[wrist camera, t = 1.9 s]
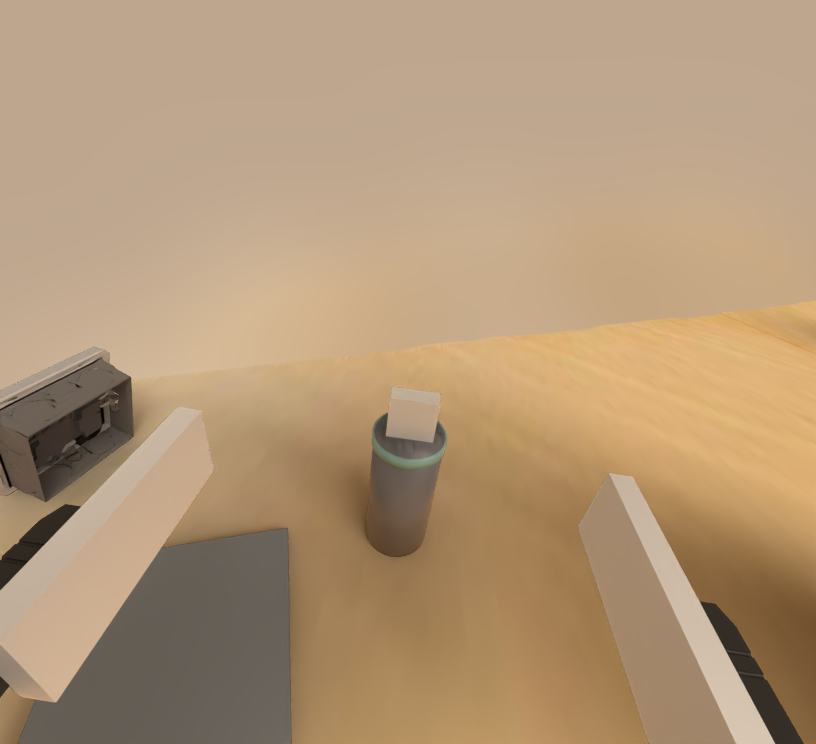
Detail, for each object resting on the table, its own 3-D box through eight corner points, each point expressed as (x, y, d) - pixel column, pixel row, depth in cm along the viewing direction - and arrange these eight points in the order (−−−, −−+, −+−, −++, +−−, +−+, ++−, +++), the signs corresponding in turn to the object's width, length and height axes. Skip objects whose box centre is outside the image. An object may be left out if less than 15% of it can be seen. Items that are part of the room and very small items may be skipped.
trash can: (427, 507, 32) (454, 379, 25) (424, 562, 28) (456, 427, 21) (370, 499, 32) (381, 368, 25) (359, 552, 28) (369, 415, 21)
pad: (288, 534, 29) (287, 527, 28) (291, 746, 19) (290, 741, 19) (97, 565, 26) (93, 558, 25) (-11, 839, 16) (-21, 835, 16)
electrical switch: (108, 421, 37) (81, 336, 31) (155, 439, 36) (136, 356, 31) (-7, 497, 29) (-67, 401, 24) (51, 522, 28) (2, 430, 23)
